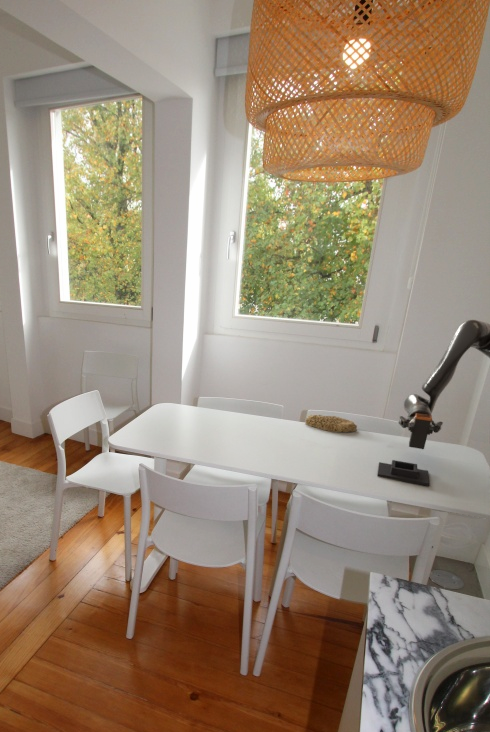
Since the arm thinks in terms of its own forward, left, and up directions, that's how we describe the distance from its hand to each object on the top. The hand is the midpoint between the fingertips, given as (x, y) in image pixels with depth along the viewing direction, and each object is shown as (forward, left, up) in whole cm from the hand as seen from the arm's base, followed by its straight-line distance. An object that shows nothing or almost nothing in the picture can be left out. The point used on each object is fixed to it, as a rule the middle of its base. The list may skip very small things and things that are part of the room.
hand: (420, 430), depth 157 cm
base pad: (+2, -1, -18) cm, 18 cm away
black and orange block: (0, -3, -6) cm, 7 cm away
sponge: (+37, -32, -18) cm, 53 cm away
